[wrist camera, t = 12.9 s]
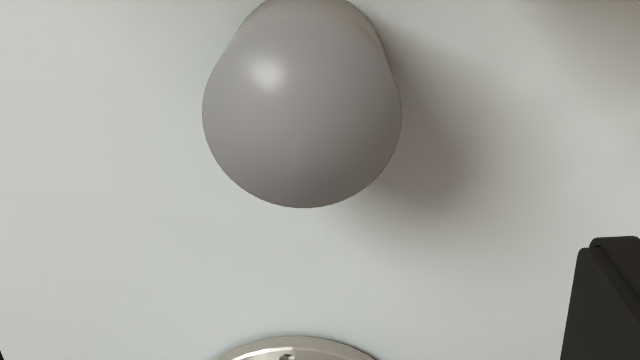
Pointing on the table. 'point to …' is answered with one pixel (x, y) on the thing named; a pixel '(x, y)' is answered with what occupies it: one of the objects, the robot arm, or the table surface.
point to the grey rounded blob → (303, 104)
